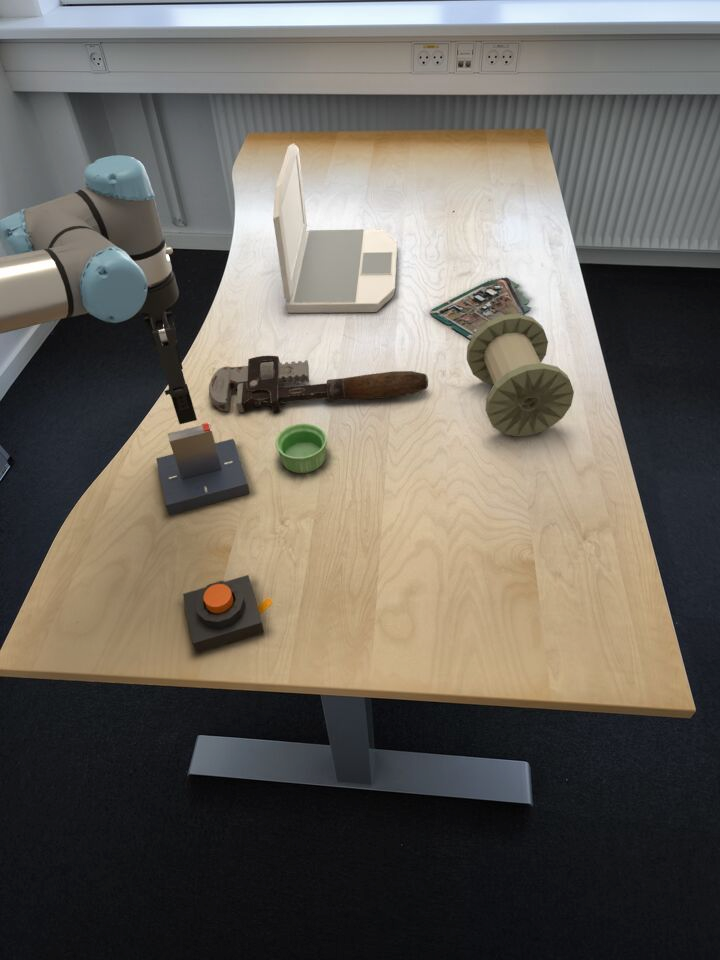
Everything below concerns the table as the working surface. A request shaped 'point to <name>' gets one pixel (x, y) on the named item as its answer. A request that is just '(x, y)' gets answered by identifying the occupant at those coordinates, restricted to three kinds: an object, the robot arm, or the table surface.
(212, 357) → the table surface
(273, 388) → the pipe wrench
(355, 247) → the laptop
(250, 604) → the orange push button box
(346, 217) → the table surface
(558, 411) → the spool
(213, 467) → the grey upright slab
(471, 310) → the circuit board
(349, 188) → the table surface
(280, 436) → the ramekin
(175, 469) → the dark grey dial base
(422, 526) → the table surface
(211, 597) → the release button
